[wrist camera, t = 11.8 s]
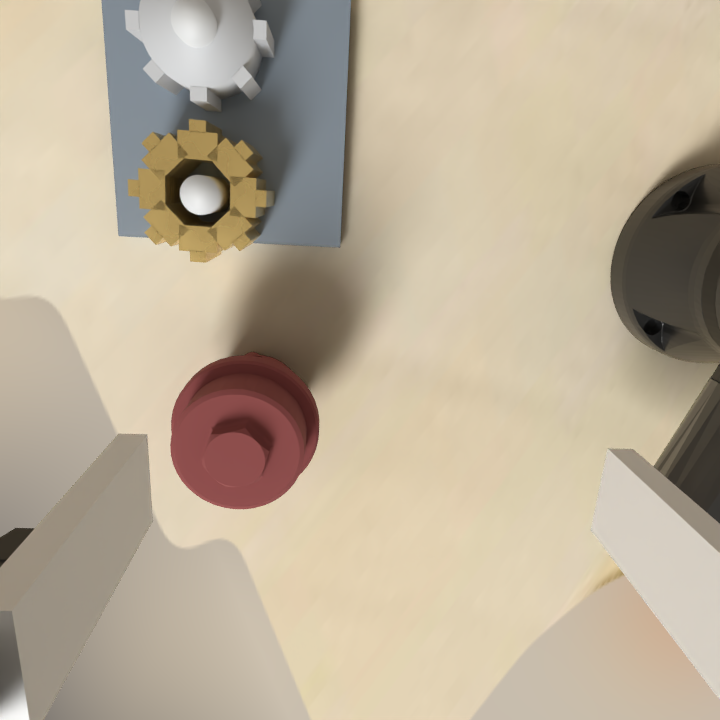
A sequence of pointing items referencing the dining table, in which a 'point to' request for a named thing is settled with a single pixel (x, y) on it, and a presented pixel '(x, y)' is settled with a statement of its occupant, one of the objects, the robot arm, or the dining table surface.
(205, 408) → the mechanical component
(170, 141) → the brass gear
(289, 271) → the dining table surface
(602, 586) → the dining table surface
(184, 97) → the gear board
